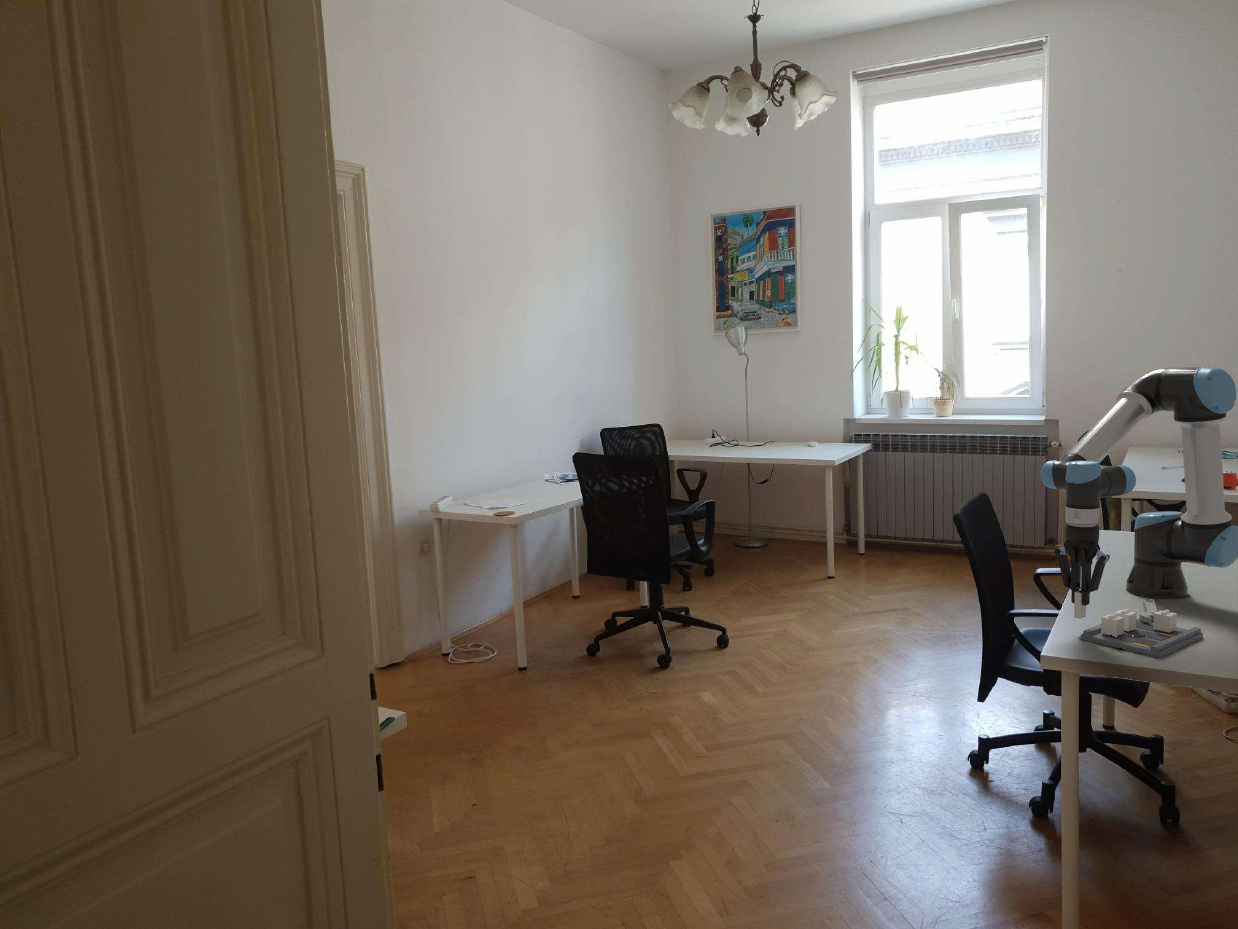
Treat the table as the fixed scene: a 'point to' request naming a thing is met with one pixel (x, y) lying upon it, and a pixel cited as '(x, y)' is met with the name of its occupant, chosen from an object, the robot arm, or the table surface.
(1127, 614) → the white slider knob
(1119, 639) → the switch bank
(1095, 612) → the table surface
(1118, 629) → the white ridged block
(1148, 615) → the adjustable wrench
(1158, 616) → the white notched block
